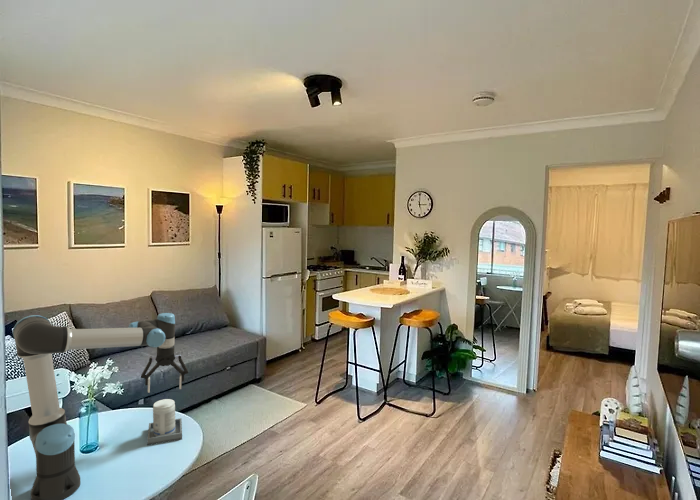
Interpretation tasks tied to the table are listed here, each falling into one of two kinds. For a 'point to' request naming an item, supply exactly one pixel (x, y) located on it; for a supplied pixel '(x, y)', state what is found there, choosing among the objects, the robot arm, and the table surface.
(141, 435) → the table surface
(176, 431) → the tray
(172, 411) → the supplement tub
